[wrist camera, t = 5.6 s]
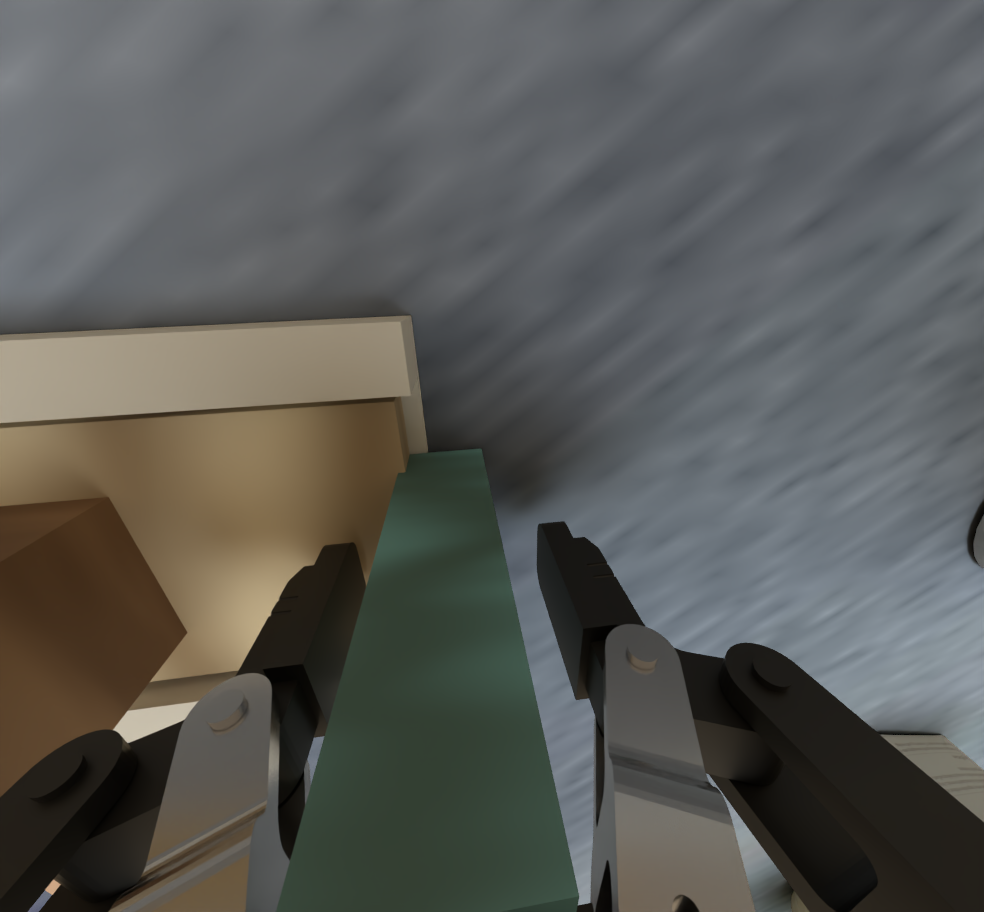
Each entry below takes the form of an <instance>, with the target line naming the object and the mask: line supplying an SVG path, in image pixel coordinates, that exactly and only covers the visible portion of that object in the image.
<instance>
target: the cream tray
mask: <svg viewBox="0 0 984 912" xmlns="http://www.w3.org/2000/svg"><path fill="white" fill-rule="evenodd" d="M399 396H401V401H402V407H403V414H404V420H405V427H406V434H407V440H408V447H409V454H420V453H428V445H427V437H426V429H425V421H424V413H423V406H422V398H421V390H420V382H419V374H418V366H417V358H416V350H415V342H414V334H413V326H412V318H411V315H408V316H387V317H365V318H344V319H323V320H302V321H281V322H259V323H238V324H217V325H196V326H175V327H154V328H132V329H111V330H90V331H69V332H48V333H27V334H5V335H0V423H10V422H25V421H40V420H55V419H70V418H85V417H100V416H114V415H129V414H144V413H159V412H174V411H189V410H204V409H219V408H234V407H249V406H264V405H279V404H294V403H309V402H324V401H339V400H354V399H369V398H384V397H399ZM238 671H239V670H238ZM238 671H230V672H223V673H215V674H207V675H199V676H192V677H184V678H176V679H168V680H160V681H153V682H149V684H148V685H147V686H146V688H145V689H144V690H143V691H142V693H141V694H140V695H139V697H138V698H137V699H136V701H135V702H134V703H133V704H132V706H131V707H130V708H129V710H128V711H127V712H126V714H125V715H124V716H123V718H122V719H121V720H120V721H119V723H118V724H117V725H116V727H115V728H114V729H113V730H114V731H116V732H118V733H119V734H120V735H121V736H122V737H123V738H124V740H125V741H126V742H132V741H135V740H137V739H140V738H142V737H145V736H147V735H149V734H152V733H154V732H157V731H159V730H161V729H164V728H166V727H169V726H171V725H173V724H176V723H178V722H180V721H183V720H185V718H186V717H187V715H188V714H189V712H190V711H191V709H192V708H193V707H194V706H195V705H196V703H197V702H198V701H199V700H200V699H201V698H202V697H203V696H205V695H206V694H207V693H208V692H209V691H211V690H212V689H213V688H215V687H216V686H218V685H219V684H221V683H223V682H224V681H226V680H228V679H231V678H233V677H235V676H236V674H237V672H238Z"/></svg>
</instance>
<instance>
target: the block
mask: <svg viewBox="0 0 984 912" xmlns="http://www.w3.org/2000/svg"><path fill="white" fill-rule="evenodd" d="M187 633H188V632H187V631H186V629H185V627H184V626H183V624H182V622H181V620H180V619H179V617H178V615H177V614H176V612H175V610H174V608H173V607H172V605H171V603H170V602H169V600H168V598H167V596H166V595H165V593H164V591H163V590H162V588H161V586H160V584H159V583H158V581H157V579H156V577H155V576H154V574H153V572H152V571H151V569H150V567H149V565H148V564H147V562H146V560H145V559H144V557H143V555H142V553H141V552H140V550H139V548H138V547H137V545H136V543H135V541H134V540H133V538H132V536H131V535H130V533H129V531H128V529H127V528H126V526H125V524H124V522H123V521H122V519H121V517H120V516H119V514H118V512H117V510H116V509H115V507H114V505H113V504H112V502H111V500H110V498H109V497H103V498H92V499H80V500H68V501H57V502H45V503H33V504H21V505H10V506H0V797H1V796H2V795H3V794H4V793H5V792H6V791H7V790H8V789H9V788H11V787H12V786H13V785H14V784H15V783H16V782H17V781H18V780H19V779H20V778H21V777H22V776H23V775H24V774H25V773H26V772H28V771H29V770H30V769H31V768H32V767H33V766H34V765H35V764H37V763H38V762H39V761H41V760H42V759H43V758H44V757H46V756H47V755H49V754H50V753H51V752H53V751H54V750H56V749H57V748H59V747H61V746H62V745H64V744H66V743H67V742H69V741H71V740H73V739H75V738H77V737H80V736H82V735H84V734H87V733H90V732H93V731H97V730H103V729H110V730H113V729H114V728H115V727H116V725H117V724H118V723H119V721H120V720H121V719H122V718H123V716H124V715H125V714H126V712H127V711H128V710H129V708H130V707H131V706H132V704H133V703H134V702H135V701H136V699H137V698H138V697H139V695H140V694H141V693H142V691H143V690H144V689H145V688H146V686H147V685H148V684H149V682H150V681H151V680H152V678H153V677H154V676H155V675H156V673H157V672H158V671H159V669H160V668H161V667H162V665H163V664H164V663H165V662H166V660H167V659H168V658H169V656H170V655H171V654H172V652H173V651H174V650H175V649H176V647H177V646H178V645H179V643H180V642H181V641H182V639H183V638H184V637H185V636H186V634H187Z"/></svg>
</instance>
